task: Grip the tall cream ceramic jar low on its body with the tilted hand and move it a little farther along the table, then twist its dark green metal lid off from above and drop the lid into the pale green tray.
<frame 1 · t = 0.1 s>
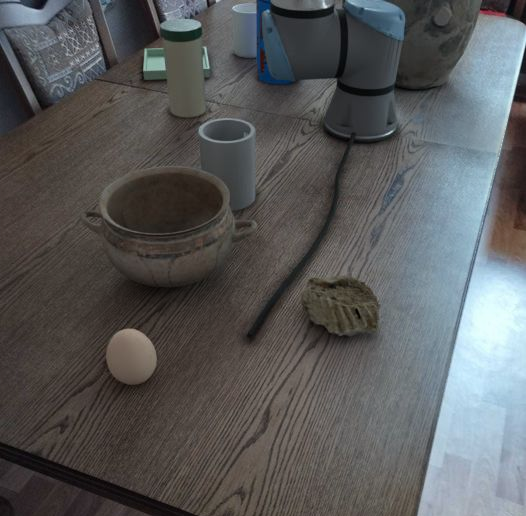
cup: (229, 197, 97), on the table
clay pot: (412, 80, 137), on the table
thermos: (278, 76, 138), on the table
tray: (176, 67, 141), on the table
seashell: (338, 322, 75), on the table
egg: (136, 378, 68), on the table
bucket: (370, 30, 164), on the table
mug: (249, 51, 150), on the table
lid: (180, 27, 111), point 17 cm above the table, screwed on, not yet turned
cooking pot: (174, 271, 83), on the table
jar: (188, 109, 123), on the table
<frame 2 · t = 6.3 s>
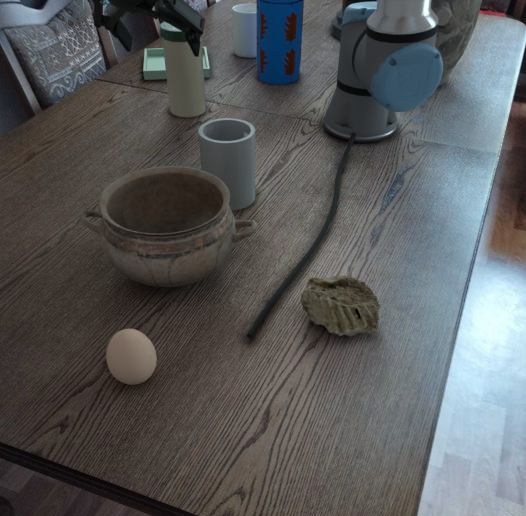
hand: (163, 47, 104), 16 cm above the table, tool tilted 45°, fingers open, 13 cm apart
nothing on the table moved.
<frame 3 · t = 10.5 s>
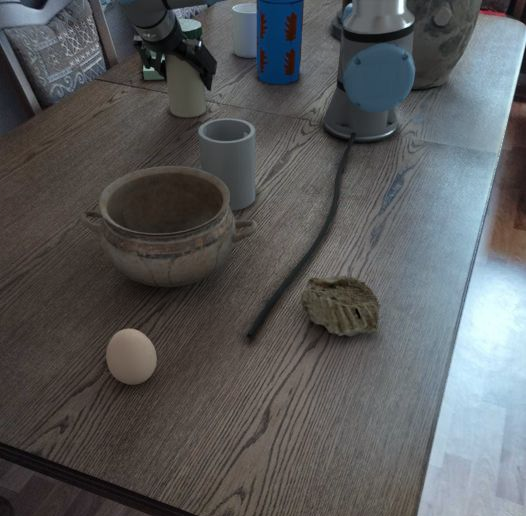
hand: (191, 82, 122), 5 cm above the table, tool tilted 45°, fingers closed on jar, 8 cm apart
jar: (188, 109, 123), on the table, touching gripper
everything else where it was.
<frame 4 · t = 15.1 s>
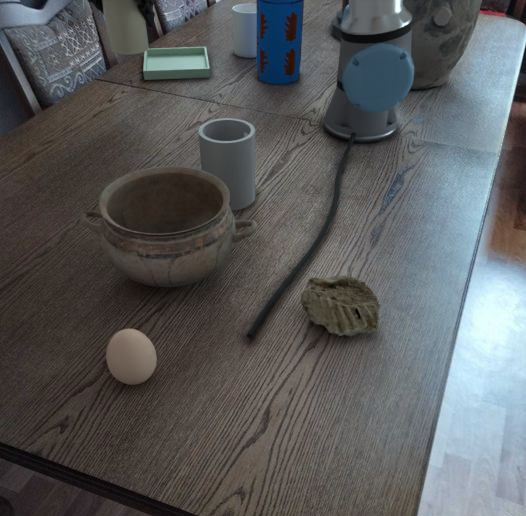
hand: (132, 18, 114), 17 cm above the table, tool tilted 45°, fingers closed on jar, 8 cm apart
jar: (129, 48, 115), point 12 cm above the table, touching gripper
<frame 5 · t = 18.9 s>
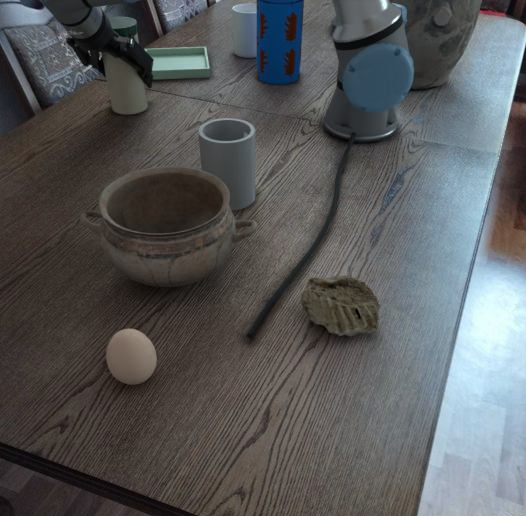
hand: (132, 80, 123), 5 cm above the table, tool tilted 45°, fingers closed on jar, 8 cm apart
lid: (116, 24, 112), point 17 cm above the table, screwed on, not yet turned
jar: (129, 107, 124), on the table, touching gripper
everything else where it was.
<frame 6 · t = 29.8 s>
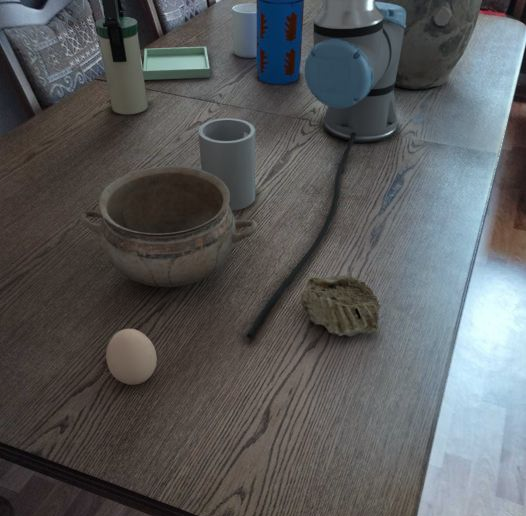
hand: (121, 53, 116), 11 cm above the table, tool pointing down, fingers closed on lid, 8 cm apart
lid: (116, 24, 112), point 17 cm above the table, screwed on, not yet turned, touching gripper
jar: (129, 107, 124), on the table
everything else where it was.
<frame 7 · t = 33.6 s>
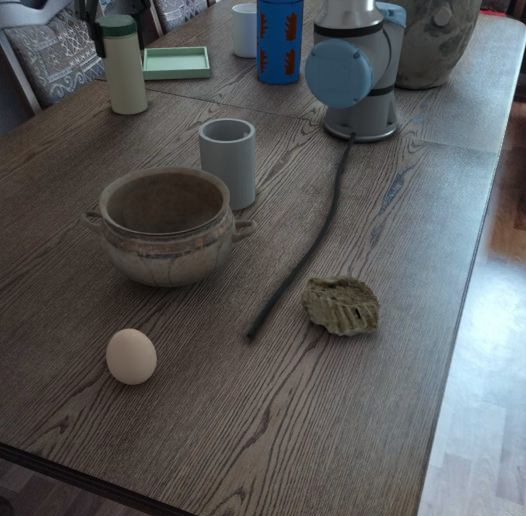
hand: (120, 52, 115), 11 cm above the table, tool pointing down, fingers closed on lid, 8 cm apart
lid: (115, 22, 111), point 17 cm above the table, turned 120° so far, risen 0.3 cm, still on its thread, touching gripper
everything else where it was.
when the fingers open (1 cm above the table, at t = 44.2 s): lid drops 5 cm, resting on tray.
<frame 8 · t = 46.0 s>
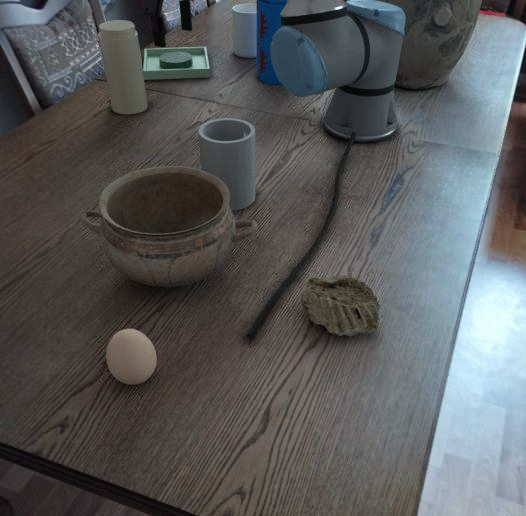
hand: (174, 38, 136), 7 cm above the table, tool pointing down, fingers open, 13 cm apart
lid: (175, 58, 140), point 2 cm above the table, off its thread, touching tray
everything else where it was.
at the end: lid inside the target area in the tray (0.1 cm from its centre), point 2.0 cm above the tray's base; the gripper is holding nothing; jar inside the target area (0.1 cm from its centre), on the table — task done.
